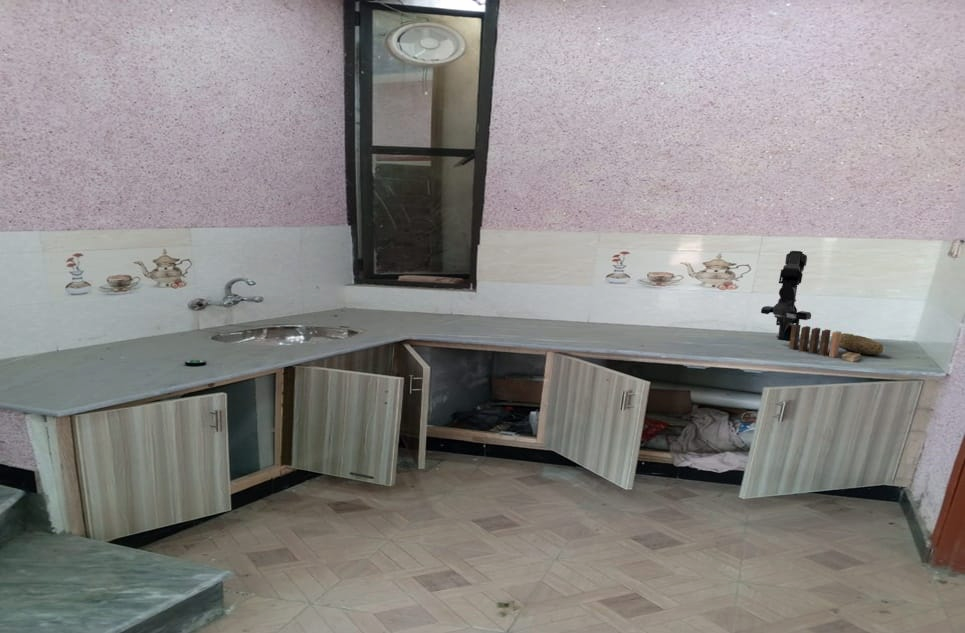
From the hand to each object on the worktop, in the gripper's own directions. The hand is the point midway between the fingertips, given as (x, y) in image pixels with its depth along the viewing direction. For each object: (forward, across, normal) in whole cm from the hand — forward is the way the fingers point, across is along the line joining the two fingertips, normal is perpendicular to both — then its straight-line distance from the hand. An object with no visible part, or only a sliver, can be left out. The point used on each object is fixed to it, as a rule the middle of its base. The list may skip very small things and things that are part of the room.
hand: (783, 332), depth 253 cm
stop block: (+6, +27, 0) cm, 27 cm away
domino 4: (+6, +17, 0) cm, 18 cm away
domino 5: (+6, +20, 0) cm, 21 cm away
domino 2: (+6, +9, 0) cm, 11 cm away
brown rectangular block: (+6, +5, 0) cm, 8 cm away
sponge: (+6, +24, +19) cm, 31 cm away
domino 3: (+6, +13, 0) cm, 14 cm away
